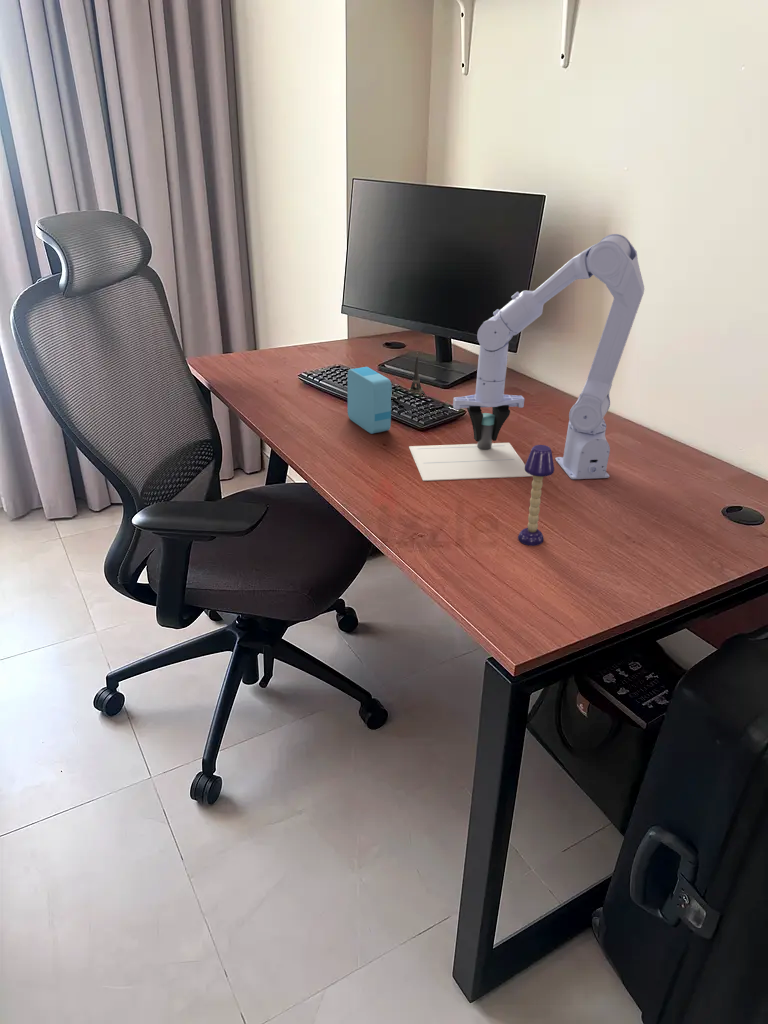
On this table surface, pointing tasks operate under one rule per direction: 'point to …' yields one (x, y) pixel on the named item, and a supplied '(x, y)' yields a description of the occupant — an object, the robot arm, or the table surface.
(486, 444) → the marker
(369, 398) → the light blue block
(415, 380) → the eiffel tower figurine
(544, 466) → the toy lamp
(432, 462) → the paper
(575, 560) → the table surface
